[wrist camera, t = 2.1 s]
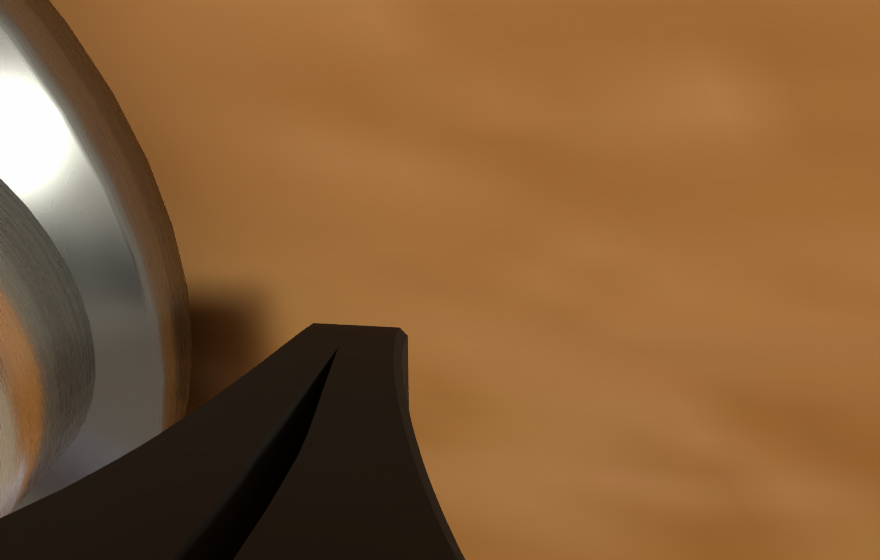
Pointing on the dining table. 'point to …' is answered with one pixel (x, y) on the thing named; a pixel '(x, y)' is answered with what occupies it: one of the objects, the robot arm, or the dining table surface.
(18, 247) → the cover
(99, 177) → the disc
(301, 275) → the dining table surface
